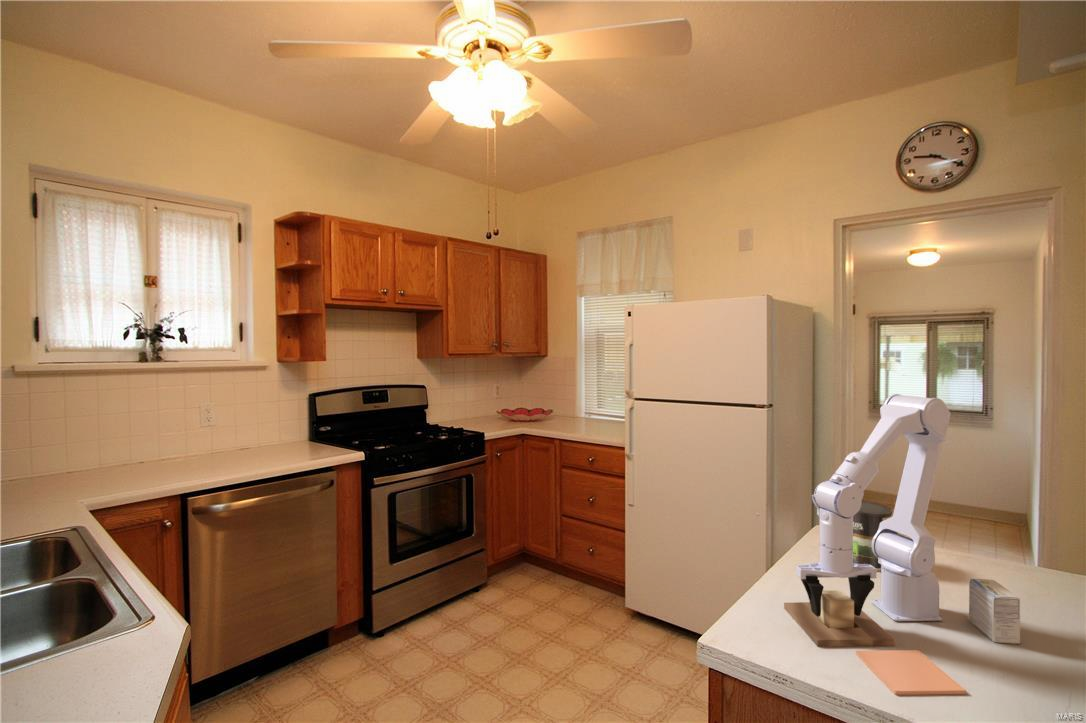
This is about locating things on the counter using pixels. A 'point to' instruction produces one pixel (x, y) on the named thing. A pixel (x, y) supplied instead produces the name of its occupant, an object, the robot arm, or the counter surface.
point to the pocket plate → (839, 629)
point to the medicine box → (994, 610)
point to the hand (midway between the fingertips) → (835, 613)
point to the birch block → (837, 609)
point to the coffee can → (868, 531)
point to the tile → (909, 672)
